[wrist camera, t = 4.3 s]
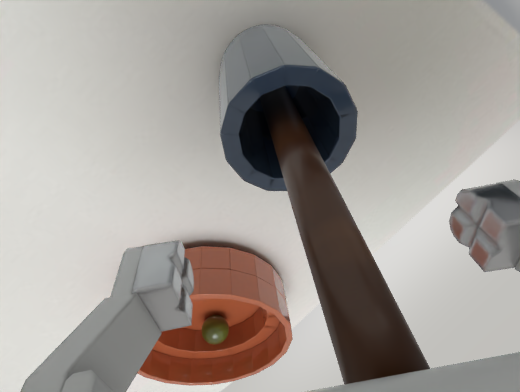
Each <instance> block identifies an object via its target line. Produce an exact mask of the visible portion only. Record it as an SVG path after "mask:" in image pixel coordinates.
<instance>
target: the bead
mask: <svg viewBox="0 0 520 392" xmlns="http://www.w3.org/2000/svg"><path fill="white" fill-rule="evenodd" d="M201 332H202V336H203V338H204V340H205V341H206V342H208V343H209V344H213V345H216V344H220V343H222V342H223V341H224V340H225V339H226V337H227V336H228V333H229V326H228V323H227V321H226V319H225V318H223V317H222V316H219V315H212V316H210V317H208V318H207V319H206V320H205V321H204V323H203V325H202V329H201Z"/></svg>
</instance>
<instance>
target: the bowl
mask: <svg viewBox="0 0 520 392" xmlns="http://www.w3.org/2000/svg"><path fill="white" fill-rule="evenodd" d="M184 257H186V258H187V259H189V260H190V263H191V266H192V270H193V276H194V291H193V292H192V294H191V295H190V296H189V297H190V299H191V301H192V303H193V310H192V325H191V326H186V327H181V328H177V329H172V330H167V331H162V332H161V333H162V334H161V336H160V337H159V339H158V340H157V342H156V344H155V345H154V347H153V349H152V350H151V352H150V353H149V355H148V357H147V358H146V360H145V361H144V363H143V365H142V366H141V368H140V370H139V371H138V374H140V375H142V376H143V377H146V378H150V379H153V380H157V381H161V382H164V383H171V384H180V385H212V384H213V385H214V384H219V383H225V382H231V381H235V380H239V379H242V378H245V377H248V376H251V375H254V374H256V373H259V372H260V371H262V370H264V369H266V368H268V367H270V366H271V365H273V364H274V363H275V362H276V361H278V360H279V359H280V358H281V357H282V356H283V355H284V354H285V353H286V352H287V350H288V348H289V346H290V343H291V341H292V330H291V324H290V319H289V314H288V308H287V303H286V298H285V293H284V288H283V283H282V279H281V278H280V277H279V275H278V274H277V272H276V271H275V270H274V268H273V267H272V266H271V265H270V264H268V263H267V262H265V261H264V260H262V259H260V258H259V257H257V256H256V255H254V254H251V253H247V252H244V251H240V250H237V249H233V248H229V247H208V246H202V247H201V246H200V247H194V248H188V249H185V254H184ZM212 315H219V316H222V317H223V318H225V319H226V321H227V323H228V326H229V333H228V336H227V337H226V339H225V340H224V341H223V342H222V343H220V344H216V345H213V344H209V343H208V342H206V341H205V340H204V338H203V336H202V332H201V329H202V325H203V323H204V321H205V320H206V319H207V318H208V317H210V316H212Z"/></svg>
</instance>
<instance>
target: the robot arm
mask: <svg viewBox="0 0 520 392" xmlns="http://www.w3.org/2000/svg"><path fill="white" fill-rule="evenodd" d="M455 201H456V203H457V204H458V207H457V208H456V209H455V210H454V211H453V212H452V213H451V217H450V228H451V231H452V233H453V235H454V237H455V238H456V239H457V241H458V242H459V243H461V244H463V245H465V246H467V247H469V255H470V256H471V257H472V258H473V259H474V261H475V262H476V263H477V264H478V265H479V266H480V267H481V269H482V270H483V271H484V272H488V271H494V270H501V269H507V268H514V267H515V269H516V270H517V271H519V272H520V181H518V180H510V181H505V182H500V183H496V184H490V185H485V186H479V187H474V188H469V189H463V190H461V191H460V192H459V193H458V194H457V197H456V200H455ZM184 254H185V248H184V246H183V244H182V242H181V241H179V240H178V241H172V242H165V243H159V244H152V245H146V246H142V247H135V248H129V249H127V250H126V251H125V252H124V254H123V257H122V260H121V264H120V267H119V270H118V274H117V277H116V280H115V283H114V287H113V290H112V293H111V296H110V298H105V299H104V300H103V301H102V302H101V303H100V304H99V305H98V306H97V307H96V308H95V309H94V310H93V311H92V312H91V313H90V314H89V315H88V316H87V317H86V318H85V319H84V320H83V322H82V323H81V324H80V325H79V326H78V327H77V328H76V329H75V330H74V331H73V332H72V333H71V334H70V335H69V336H68V337H67V338H66V339H65V340H64V341H63V342H62V343H61V344H60V345H59V346H58V347H57V348H56V349H55V350H54V351H53V352H52V353H51V354H50V355H49V357H48V358H47V359H46V360H45V361H44V362H43V363H42V364H41V365H40V366H39V367H38V368H37V369H36V370H35V371H34V372H33V373H32V374H31V375H30V376H29V377H28V378H27V379H26V380H25V383H24V385H23V387H22V389H21V392H126V391H127V389H128V387H129V386H130V384H131V382H132V381H133V379H134V378H135V376H136V374H137V373H138V371H139V370H140V368H141V366H142V365H143V363H144V361H145V360H146V358H147V357H148V355H149V353H150V352H151V350H152V349H153V347H154V345H155V344H156V342H157V340H158V339H159V337H160V336H161V334H162V333H161V332H162V331H167V330H172V329H177V328H181V327H186V326H191V325H192V310H193V303H192V301H191V299H190V297H189V296H190V295H191V294H192V292H193V291H194V276H193V270H192V266H191V263H190V260H189V259H187V258H186V257H184ZM307 392H520V352H518V353H512V354H507V355H501V356H496V357H491V358H485V359H480V360H474V361H469V362H463V363H458V364H453V365H447V366H442V367H437V368H431V369H426V370H420V371H415V372H409V373H404V374H398V375H393V376H388V377H382V378H377V379H371V380H366V381H361V382H355V383H350V384H344V385H339V386H334V387H329V388H323V389H318V390H312V391H307Z"/></svg>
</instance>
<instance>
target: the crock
mask: <svg viewBox="0 0 520 392" xmlns="http://www.w3.org/2000/svg"><path fill="white" fill-rule="evenodd" d="M283 86H285V87H286V89H287V91H288V93H289V95H290V97H291V98H292V100H293V102H294V104H295V106H296V108H297V110H298V112H299V114H300V116H301V118H302V120H303V122H304V124H305V126H306V128H307V130H308V132H309V134H310V136H311V137H312V139H313V141H314V143H315V145H316V147H317V149H318V151H319V153H320V155H321V157H322V159H323V161H324V163H325V165H326V167H327V169H328V171H329V173H331V172H333V171H334V170H335V169H336V168H337V167H339V166H340V165H341V163H343V161H344V159H345V158H346V156H347V154H348V152H349V150H350V148H351V147H352V145H353V143H354V141H355V139H356V128H357V112H358V111H357V108H356V106H355V104H354V102H353V100H352V98H351V96H350V93H349V91H348V89H347V87H346V85H345V84H344V83H343V82H342V81H341V80H340V79H339V78H338V77H337V76H336V75H335V74H334V73H333V72H332V70H331V69H330V68H329V67H328V66H327V65H326V64H325V63H324V62H323V61H322V60H321V59H320V58H319V57H318V56H317V55H316V54H315V53H314V52H313V51H312V50H311V49H310V48H309V47H308V46H307V45H306V44H305V43H304V42H303V41H302V40H301V39H300V38H298V37H297V36H296V35H294V34H293V33H292V32H291V31H289V30H287V29H285V28H283V27H280V26H276V25H268V24H265V25H258V26H254V27H251V28H249V29H246V30H245V31H243V32H241V33H240V34H239V35H238V36H236V37H235V38H234V39H233V40H232V42H231V43H230V44H229V46H228V47H227V49H226V51H225V53H224V55H223V58H222V62H221V67H220V74H219V98H220V136H221V141H222V145H223V149H224V153H225V158H226V160H227V162H228V163H229V164H230V166H231V167H232V168H233V169H234V170H235V171H236V172H237V174H238V175H239V176H240V177H241V178H242V179H243V180H244V181H246V182H248V183H250V184H253V185H255V186H257V187H260V188H262V189H264V190H267V191H287V188H286V185H285V182H284V178H283V175H282V171H281V168H280V165H279V161H278V158H277V155H276V151H275V148H274V144H273V141H272V138H271V134H270V131H269V128H268V124H267V121H266V117H265V114H264V111H263V107H262V104H261V100H260V97H261V96H262V95H263V94H266V93H268V92H271V91H273V90H276V89H278V88H281V87H283Z"/></svg>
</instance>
